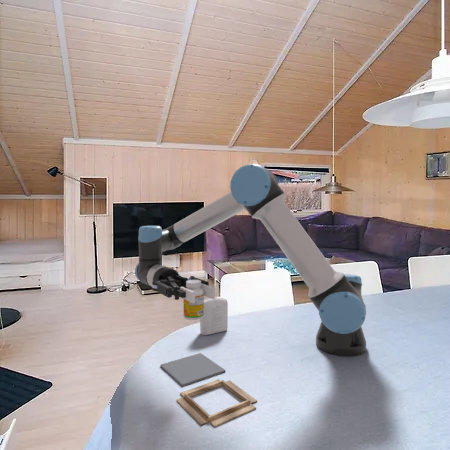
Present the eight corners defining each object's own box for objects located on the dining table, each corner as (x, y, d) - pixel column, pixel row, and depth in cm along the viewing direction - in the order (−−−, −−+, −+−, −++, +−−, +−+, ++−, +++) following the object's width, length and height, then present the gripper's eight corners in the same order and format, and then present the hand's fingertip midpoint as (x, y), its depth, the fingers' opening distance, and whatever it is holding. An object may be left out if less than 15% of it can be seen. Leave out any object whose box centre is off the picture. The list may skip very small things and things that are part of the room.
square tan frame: (224, 378, 91) (224, 374, 91) (262, 405, 78) (262, 401, 78) (172, 396, 82) (172, 392, 82) (206, 430, 70) (206, 426, 70)
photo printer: (222, 327, 128) (222, 293, 127) (229, 330, 124) (229, 296, 123) (198, 333, 122) (198, 298, 121) (204, 336, 118) (204, 301, 118)
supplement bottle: (183, 314, 95) (183, 279, 95) (203, 313, 96) (203, 278, 95) (183, 320, 90) (183, 283, 89) (204, 320, 90) (204, 283, 90)
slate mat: (200, 354, 105) (200, 352, 105) (225, 371, 94) (225, 369, 94) (160, 366, 97) (160, 364, 97) (182, 386, 87) (182, 384, 87)
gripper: (189, 286, 113) (233, 303, 94) (135, 295, 102) (171, 317, 83) (189, 263, 112) (233, 276, 93) (134, 270, 101) (171, 286, 82)
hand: (204, 295), depth 88 cm, fingers closed on supplement bottle, 5 cm apart
